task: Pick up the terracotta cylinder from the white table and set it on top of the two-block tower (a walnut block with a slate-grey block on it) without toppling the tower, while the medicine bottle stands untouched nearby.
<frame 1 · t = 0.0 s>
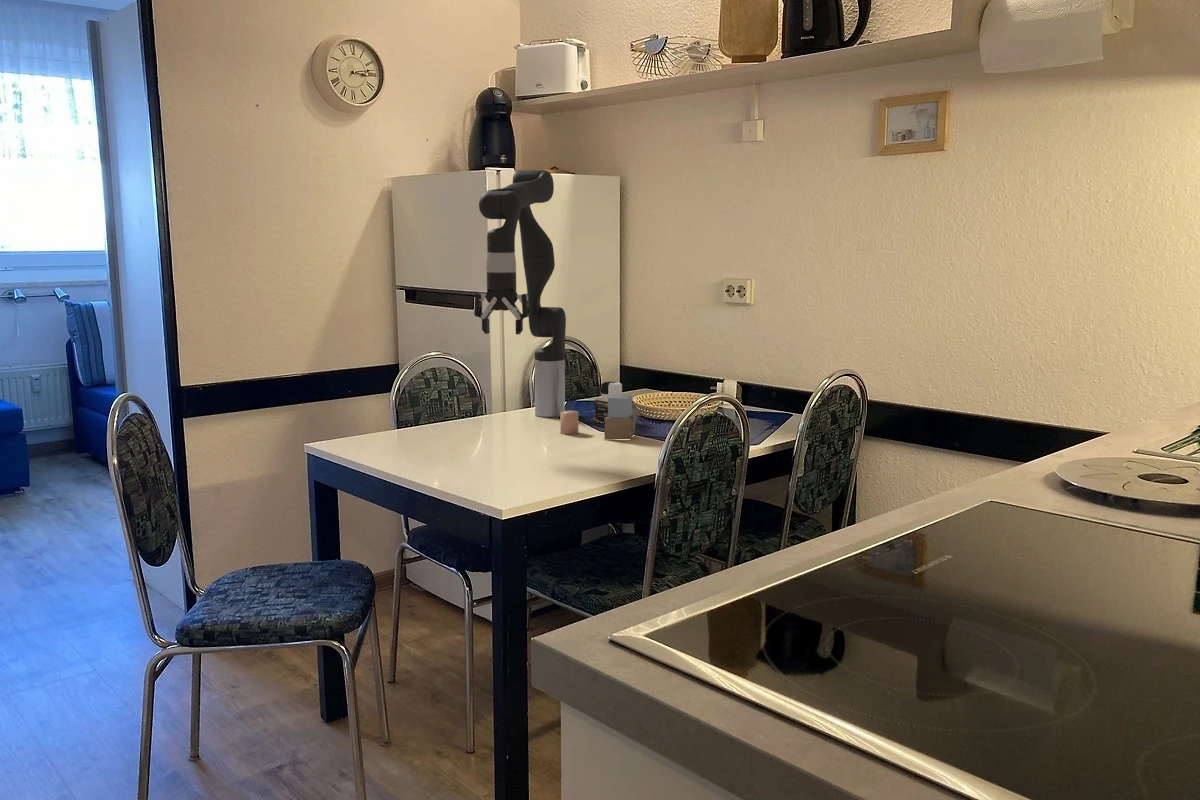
hand: (502, 333, 245), 29 cm above the table, tool pointing down, fingers open, 8 cm apart
grey block: (620, 416, 258), point 6 cm above the table, touching walnut block
walnut block: (619, 438, 259), on the table, touching grey block
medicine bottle: (611, 422, 281), on the table
terracotta cylinder: (569, 433, 265), on the table
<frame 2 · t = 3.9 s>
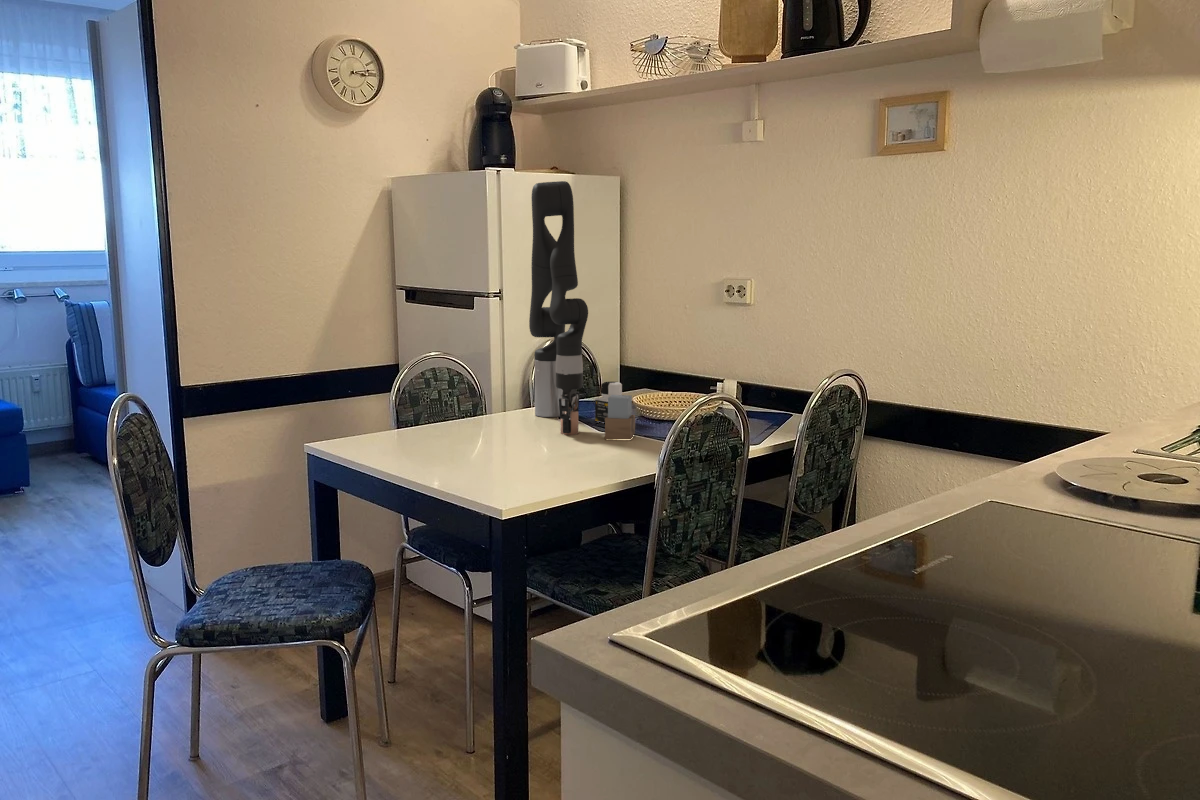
hand: (569, 430, 265), 1 cm above the table, tool pointing down, fingers closed on terracotta cylinder, 5 cm apart
terracotta cylinder: (569, 433, 265), on the table, touching gripper
everything else where it was.
when the fingers open (13 cm above the table, at t = 9.6 s): terracotta cylinder stays where it is, resting on grey block.
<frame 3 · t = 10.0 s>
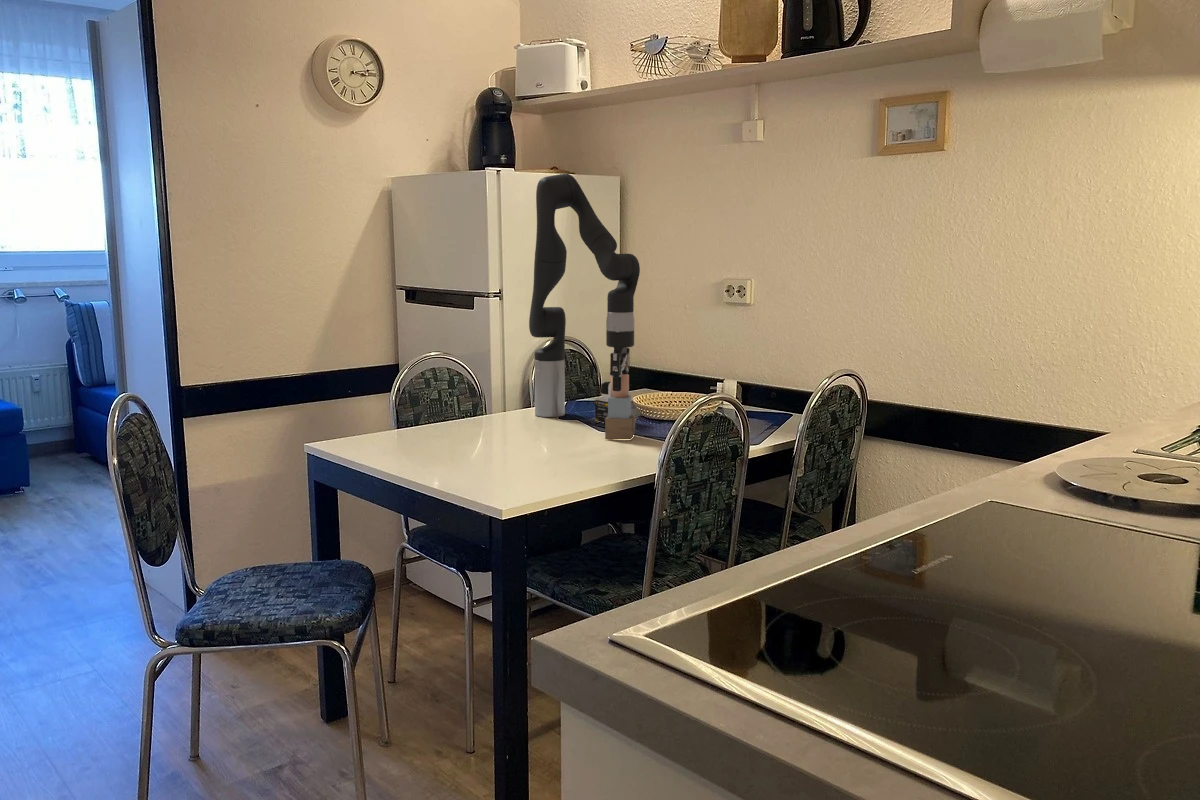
hand: (620, 388, 257), 14 cm above the table, tool pointing down, fingers open, 8 cm apart
grey block: (619, 416, 258), point 6 cm above the table, touching terracotta cylinder, walnut block
terracotta cylinder: (619, 396, 257), point 11 cm above the table, touching grey block
everything else where it was.
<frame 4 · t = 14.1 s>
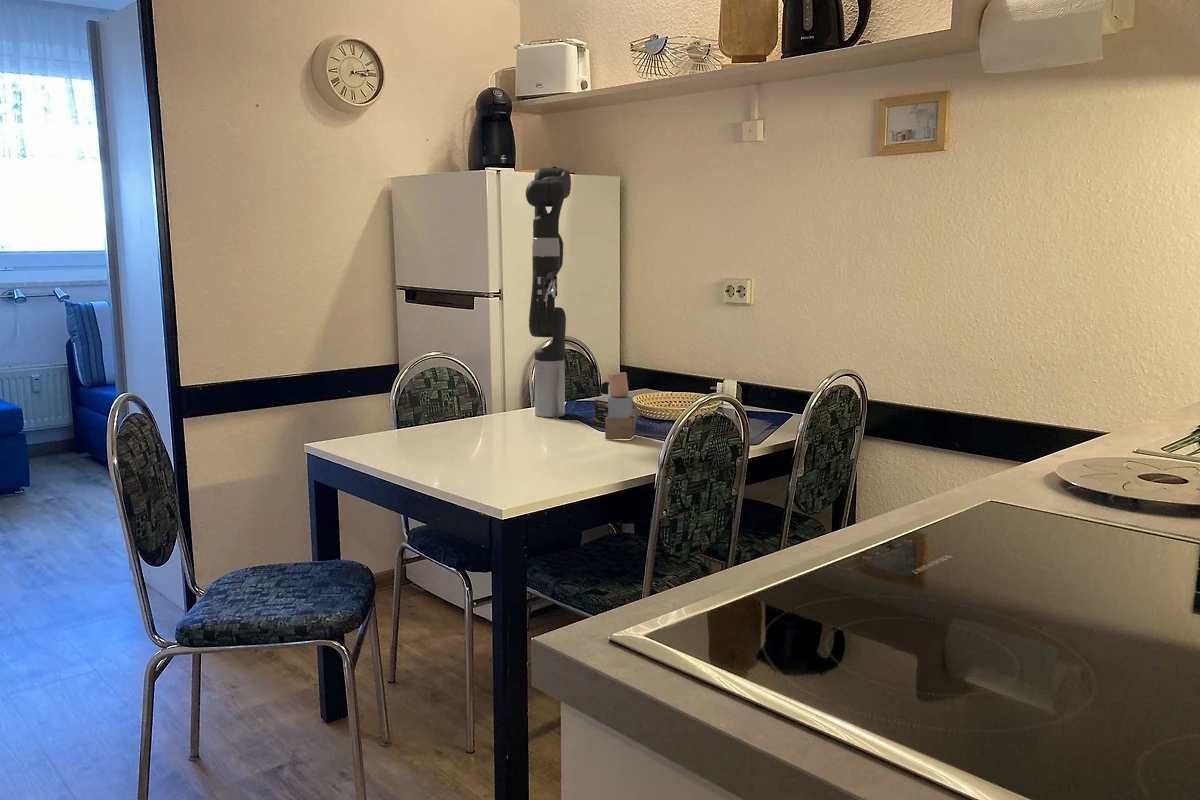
hand: (546, 313, 263), 33 cm above the table, tool pointing down, fingers open, 8 cm apart
terracotta cylinder: (619, 395, 257), point 12 cm above the table, tilted 8°, touching grey block
everything else where it was.
at the end: terracotta cylinder 0.2 cm off-centre on the grey block, point 5.8 cm above the grey block's base; grey block tilted 0°; terracotta cylinder tilted 8° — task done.
